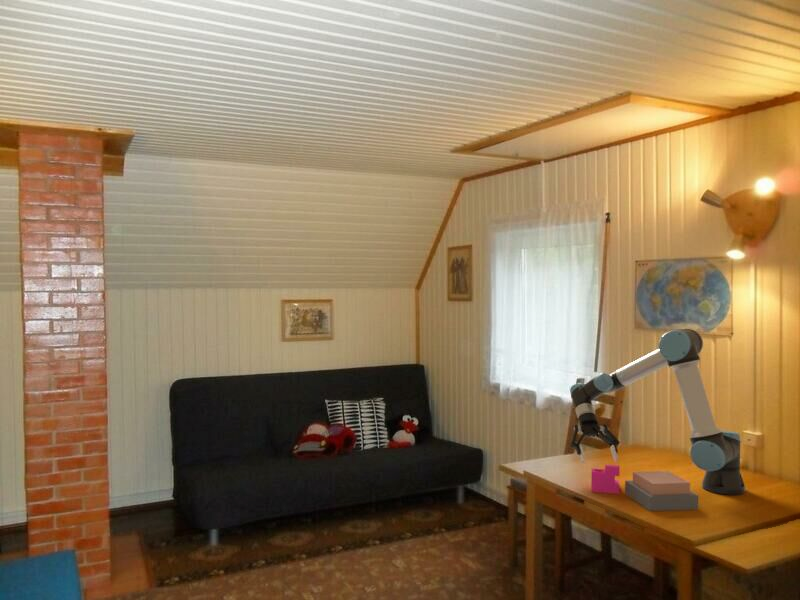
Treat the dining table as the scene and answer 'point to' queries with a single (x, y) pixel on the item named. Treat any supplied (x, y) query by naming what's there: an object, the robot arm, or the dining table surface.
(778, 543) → the dining table surface
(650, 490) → the two-tone base plate
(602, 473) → the bracket
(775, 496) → the dining table surface
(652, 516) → the dining table surface
